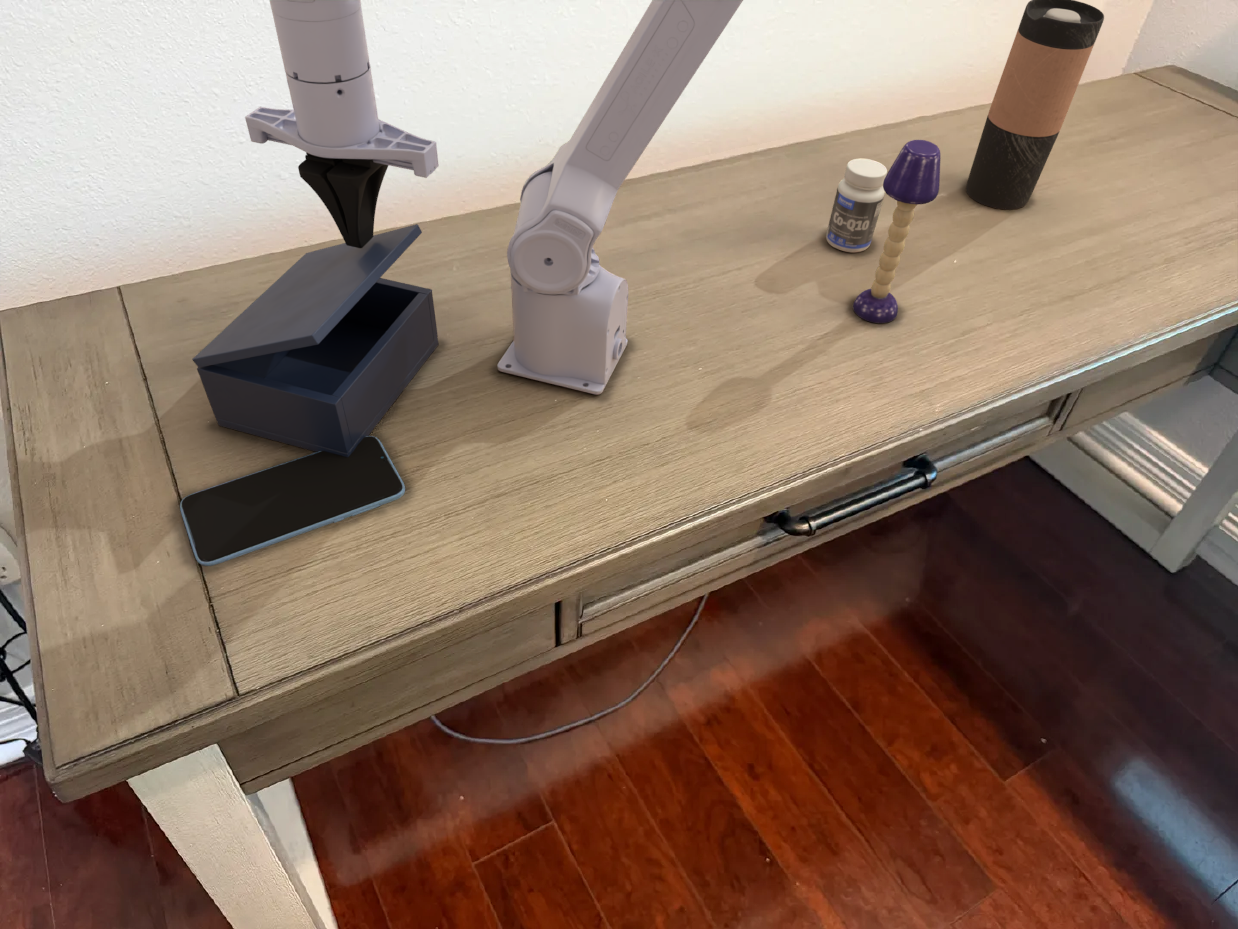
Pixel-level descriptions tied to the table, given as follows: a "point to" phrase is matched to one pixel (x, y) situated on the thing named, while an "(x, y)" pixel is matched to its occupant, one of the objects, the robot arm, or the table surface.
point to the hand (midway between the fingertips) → (359, 240)
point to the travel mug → (1032, 100)
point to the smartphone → (288, 501)
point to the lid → (308, 299)
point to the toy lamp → (900, 222)
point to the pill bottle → (857, 205)
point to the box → (330, 374)
